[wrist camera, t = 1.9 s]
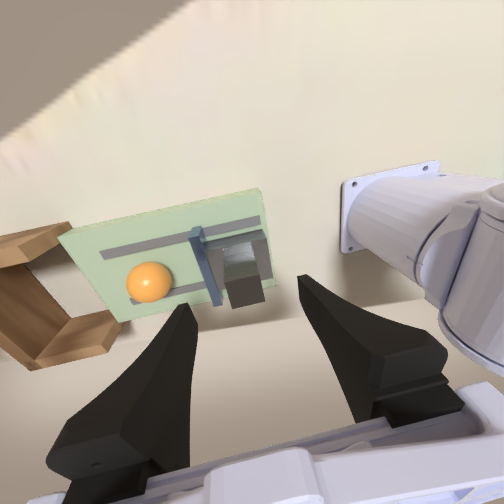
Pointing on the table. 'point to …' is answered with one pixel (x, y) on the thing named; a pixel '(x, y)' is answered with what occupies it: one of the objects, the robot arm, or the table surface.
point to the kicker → (233, 265)
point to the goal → (44, 308)
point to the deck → (161, 249)
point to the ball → (148, 282)
